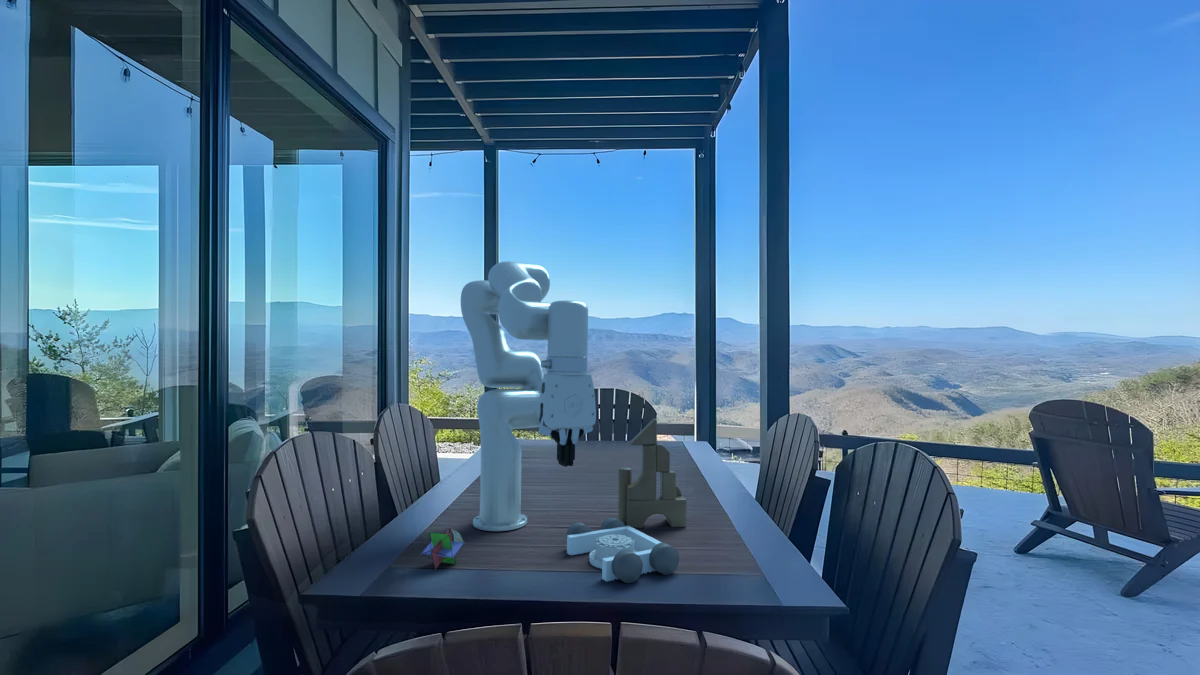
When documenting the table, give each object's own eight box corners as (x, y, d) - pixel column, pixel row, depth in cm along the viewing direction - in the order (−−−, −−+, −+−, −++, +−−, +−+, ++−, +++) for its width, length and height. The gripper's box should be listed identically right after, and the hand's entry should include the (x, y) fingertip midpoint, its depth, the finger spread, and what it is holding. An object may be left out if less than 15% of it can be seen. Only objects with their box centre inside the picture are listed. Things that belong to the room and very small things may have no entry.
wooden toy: (679, 518, 135) (679, 416, 136) (686, 527, 128) (686, 419, 129) (617, 520, 134) (618, 416, 135) (620, 528, 127) (621, 419, 128)
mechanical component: (634, 575, 100) (645, 556, 110) (634, 550, 100) (645, 534, 110) (582, 568, 103) (597, 551, 112) (582, 545, 103) (597, 529, 113)
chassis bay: (561, 549, 113) (561, 524, 113) (622, 538, 120) (622, 515, 120) (613, 586, 94) (613, 557, 94) (681, 571, 101) (681, 544, 101)
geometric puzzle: (442, 565, 97) (458, 521, 102) (409, 561, 99) (426, 518, 104) (459, 578, 103) (473, 535, 108) (427, 573, 105) (442, 532, 110)
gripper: (537, 367, 96) (535, 472, 96) (611, 367, 104) (610, 465, 103) (522, 366, 103) (520, 464, 103) (593, 366, 110) (591, 458, 110)
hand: (565, 464), depth 103 cm, fingers closed
